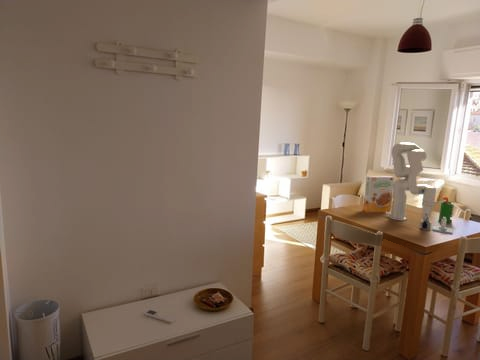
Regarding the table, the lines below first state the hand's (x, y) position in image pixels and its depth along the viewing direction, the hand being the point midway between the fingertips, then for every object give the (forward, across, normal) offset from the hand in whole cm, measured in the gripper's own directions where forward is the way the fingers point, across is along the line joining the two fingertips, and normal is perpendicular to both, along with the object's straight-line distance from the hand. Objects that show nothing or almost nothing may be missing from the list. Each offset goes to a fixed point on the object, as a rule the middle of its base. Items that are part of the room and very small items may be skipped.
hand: (425, 226), depth 249 cm
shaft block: (+1, -3, +11) cm, 11 cm away
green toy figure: (+1, -29, +11) cm, 31 cm away
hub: (+1, 0, 0) cm, 1 cm away
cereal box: (+1, -29, -40) cm, 49 cm away
